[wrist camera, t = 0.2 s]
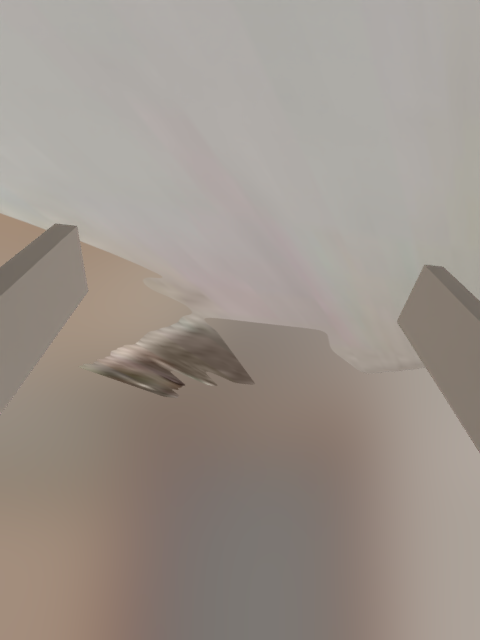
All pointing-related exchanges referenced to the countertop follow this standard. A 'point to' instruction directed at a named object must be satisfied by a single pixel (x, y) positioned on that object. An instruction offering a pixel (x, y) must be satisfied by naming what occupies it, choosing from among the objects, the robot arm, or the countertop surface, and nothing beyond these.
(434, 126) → the countertop surface
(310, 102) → the countertop surface
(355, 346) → the countertop surface
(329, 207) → the countertop surface
